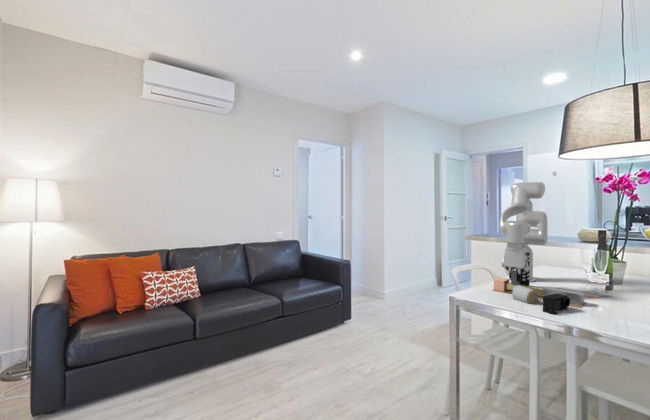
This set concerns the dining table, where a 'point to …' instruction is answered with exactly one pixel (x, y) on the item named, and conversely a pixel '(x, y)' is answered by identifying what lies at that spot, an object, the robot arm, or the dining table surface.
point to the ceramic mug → (524, 294)
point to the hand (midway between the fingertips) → (515, 280)
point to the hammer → (514, 283)
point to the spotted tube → (525, 273)
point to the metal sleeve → (574, 297)
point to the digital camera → (555, 303)
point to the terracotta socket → (500, 284)
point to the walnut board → (538, 297)
